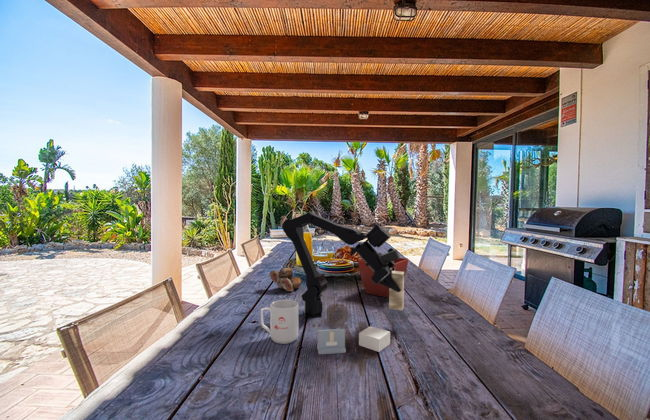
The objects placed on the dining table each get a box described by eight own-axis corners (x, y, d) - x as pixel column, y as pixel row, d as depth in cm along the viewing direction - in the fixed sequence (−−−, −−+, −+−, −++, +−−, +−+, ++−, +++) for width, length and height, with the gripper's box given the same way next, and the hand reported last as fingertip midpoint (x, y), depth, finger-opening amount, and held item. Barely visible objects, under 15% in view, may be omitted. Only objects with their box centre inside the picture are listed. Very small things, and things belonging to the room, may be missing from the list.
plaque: (318, 354, 86) (318, 333, 86) (316, 347, 90) (317, 328, 90) (345, 352, 87) (346, 332, 87) (342, 346, 91) (343, 326, 91)
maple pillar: (388, 308, 105) (389, 273, 105) (390, 304, 109) (391, 270, 109) (402, 310, 104) (402, 274, 103) (403, 306, 108) (404, 271, 108)
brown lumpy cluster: (268, 273, 160) (269, 270, 146) (297, 265, 164) (300, 261, 150) (273, 297, 157) (275, 297, 143) (303, 289, 161) (307, 287, 147)
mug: (299, 333, 100) (299, 299, 100) (296, 345, 92) (297, 308, 91) (263, 332, 101) (263, 299, 100) (257, 344, 92) (257, 308, 92)
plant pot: (374, 285, 162) (374, 254, 162) (408, 292, 151) (409, 258, 151) (356, 293, 146) (356, 259, 146) (393, 301, 135) (393, 264, 135)
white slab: (358, 345, 92) (358, 332, 92) (370, 338, 98) (370, 325, 98) (379, 352, 88) (379, 339, 88) (390, 344, 93) (390, 331, 93)
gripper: (381, 244, 99) (416, 281, 95) (390, 238, 116) (419, 269, 113) (358, 266, 102) (390, 302, 98) (369, 257, 119) (397, 288, 115)
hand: (400, 289), depth 106 cm, fingers closed on maple pillar, 4 cm apart
